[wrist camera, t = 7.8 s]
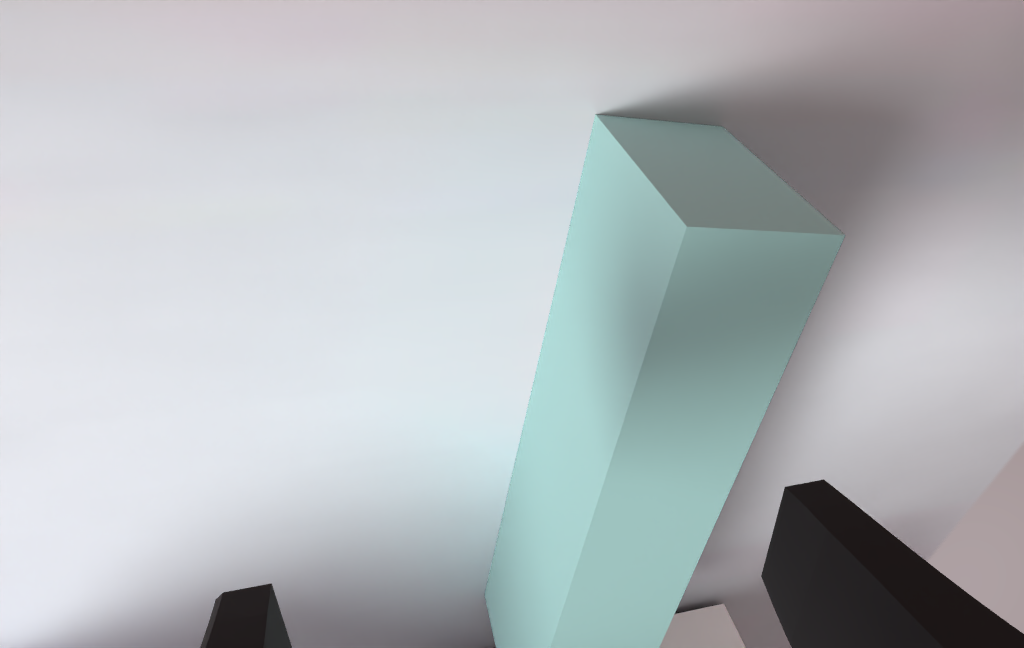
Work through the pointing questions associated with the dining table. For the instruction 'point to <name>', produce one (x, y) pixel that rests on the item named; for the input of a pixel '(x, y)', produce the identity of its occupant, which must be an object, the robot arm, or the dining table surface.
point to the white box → (702, 630)
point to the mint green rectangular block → (649, 379)
